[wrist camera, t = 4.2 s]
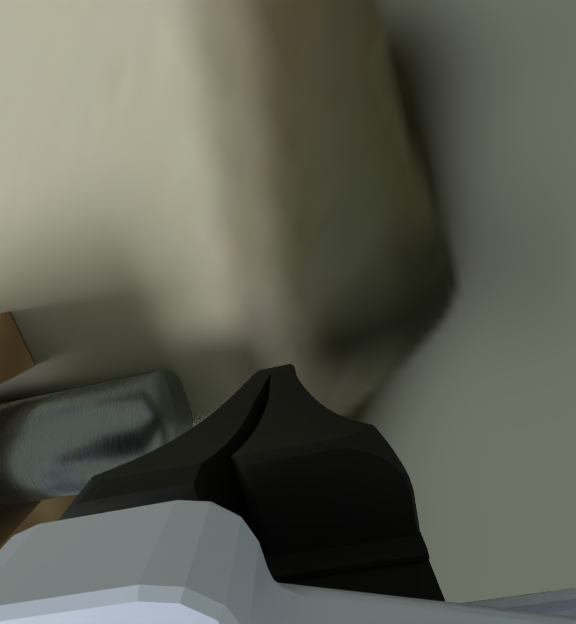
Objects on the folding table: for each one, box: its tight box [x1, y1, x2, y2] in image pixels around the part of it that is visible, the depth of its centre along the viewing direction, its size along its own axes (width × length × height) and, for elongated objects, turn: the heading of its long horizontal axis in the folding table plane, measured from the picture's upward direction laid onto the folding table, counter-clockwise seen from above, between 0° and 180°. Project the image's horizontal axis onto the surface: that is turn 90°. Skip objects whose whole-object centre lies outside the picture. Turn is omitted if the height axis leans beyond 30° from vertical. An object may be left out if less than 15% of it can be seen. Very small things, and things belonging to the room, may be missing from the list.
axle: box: [0, 370, 193, 508], centre depth 13 cm, size 4×12×4 cm, turn 102°
